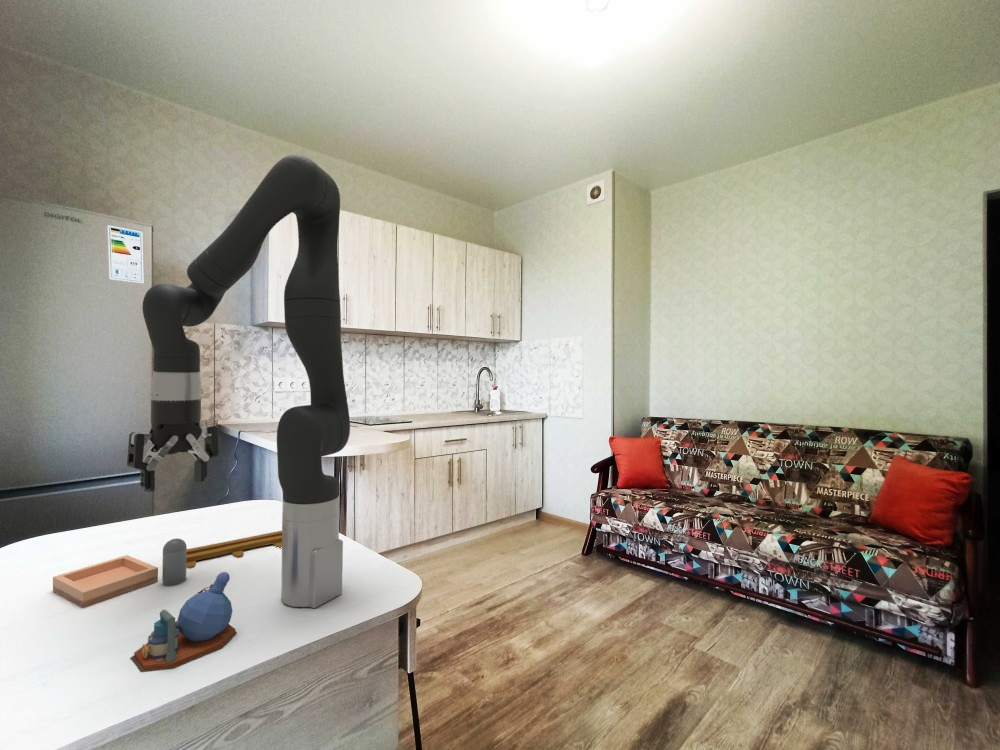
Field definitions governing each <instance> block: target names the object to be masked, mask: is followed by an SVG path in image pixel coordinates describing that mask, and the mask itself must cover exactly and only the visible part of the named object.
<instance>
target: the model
mask: <svg viewBox="0 0 1000 750" xmlns="http://www.w3.org/2000/svg"><path fill="white" fill-rule="evenodd" d="M230 577H231V576H230V574H229V573H228V572H225V571H222V572H220V573H219V574H217V576H216V577H215V580H214V582H213V584H210V585H209V586H206V587H204V588H202V589H201V590H199V591H198V592H197V593H195V594H194V595H193V596H191V597H190V598H188V599H187V600H186V601H185V602H184V604H183V605H182V607H181V608H180V609H179V613H178V617H177V621H176V617H175V616H173V615H172V614H171V613H170V612H169V611H168V610H167V609H162V610H161V611H160V612H159V619H158V620H157V621H155V622H154V624H153V628H154V629H153V631H152V632H150V635H148V637H147V638H148V639H147V642H146V643H144V644H142V646H141V647H140V648H139V649H137V650H136V651H135V652H133V655H132V656H130V657H129V658H130V660H131V662H132V663H133V664H134V665H135V667H136V668H137V669H138V671H139V672H140V673H146V672H156V671H167V670H174V669H177V668H179V667H181V666H184V665H186V664H189V663H191V662H193V661H196V660H198V659H201V658H203V657H206V656H207V655H211V654H212V653H215V652H217V651H220V650H222V649H224V647H225V646H226V645H228V643H230V642H231V641H232V639H233V638H234V637H236V635H237V634H238V632H237V631H236V628H234V627H233V626H232V625H231V624H230V622H231V620H232V614H233V607H232V606H233V605H232V602H231V600H230V599H229V598H228V596H226V594H225V588H226V586H227V585H228V583H229V581H230V579H231V578H230Z"/></svg>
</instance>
